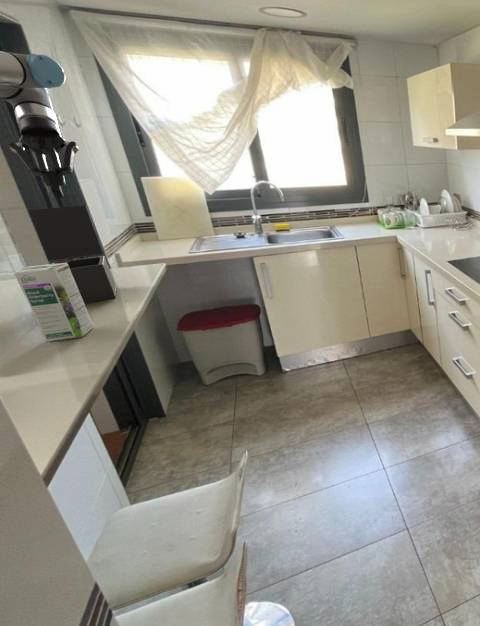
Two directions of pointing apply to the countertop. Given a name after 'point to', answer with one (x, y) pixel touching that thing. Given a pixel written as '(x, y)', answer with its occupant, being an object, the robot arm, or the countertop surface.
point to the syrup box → (55, 301)
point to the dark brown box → (92, 278)
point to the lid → (66, 232)
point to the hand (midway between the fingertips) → (57, 193)
